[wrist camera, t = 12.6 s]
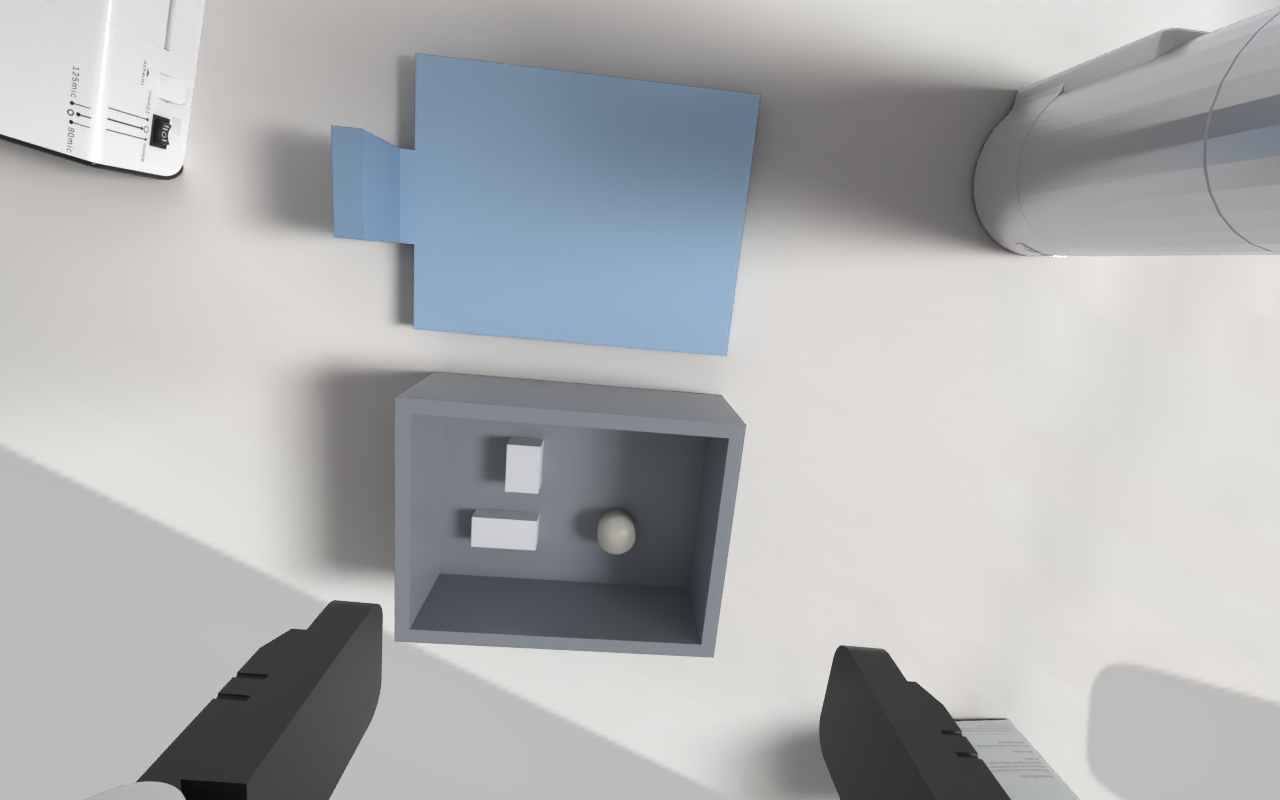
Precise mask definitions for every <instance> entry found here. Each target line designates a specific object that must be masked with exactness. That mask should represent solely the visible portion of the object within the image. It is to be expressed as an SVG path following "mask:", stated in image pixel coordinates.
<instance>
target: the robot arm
mask: <svg viewBox="0 0 1280 800" xmlns="http://www.w3.org/2000/svg"><path fill="white" fill-rule="evenodd" d="M974 200H975V205H976V211H977V213H978V215H979V218H980V220H981V223H982V225H983V226H984V228H985V229H986V231H987V232H988V233H989V235H990V236H991V237H992V238H993V239H994V240H995V241H996V242H998V243H999V244H1000V245H1001V246H1002V247H1004V248H1006V249H1008V250H1010V251H1012V252H1014V253H1018V254H1022V255H1027V256H1046V257H1068V256H1166V255H1278V254H1280V6H1279V7H1276V8H1274V9H1271V10H1268V11H1266V12H1263V13H1260V14H1258V15H1255V16H1253V17H1250V18H1247V19H1245V20H1242V21H1239V22H1237V23H1234V24H1231V25H1229V26H1226V27H1224V28H1221V29H1218V30H1216V31H1213V32H1204V31H1196V30H1189V29H1181V28H1170V29H1164V30H1161V31H1159V32H1156V33H1154V34H1151V35H1149V36H1147V37H1144V38H1142V39H1139V40H1137V41H1135V42H1132V43H1130V44H1127V45H1125V46H1123V47H1120V48H1118V49H1115V50H1113V51H1111V52H1108V53H1106V54H1103V55H1101V56H1099V57H1096V58H1094V59H1092V60H1089V61H1087V62H1084V63H1082V64H1080V65H1077V66H1075V67H1072V68H1070V69H1068V70H1065V71H1063V72H1060V73H1058V74H1056V75H1053V76H1051V77H1048V78H1046V79H1044V80H1041V81H1039V82H1036V83H1034V84H1032V85H1029V86H1027V87H1024V88H1022V89H1020V90H1019V91H1018V92H1017V94H1016V98H1015V103H1014V105H1013V108H1012V110H1011V111H1010V112H1009V114H1008V115H1007V116H1006V117H1005V118H1004V119H1003V120H1002V121H1001V122H1000V123H999V124H998V125H997V126H996V127H995V129H994V130H993V132H992V133H991V135H990V136H989V138H988V139H987V141H986V142H985V144H984V147H983V149H982V151H981V154H980V156H979V158H978V161H977V166H976V170H975V175H974ZM382 623H383V614H382V608H381V606H380V605H379V604H371V603H360V602H348V601H337V600H334V601H332V602H330V603H329V604H328V605H327V606H326V607H325V609H324V610H323V611H322V612H321V614H320V615H319V616H318V617H317V618H316V619H315V620H314V622H313V623H312V624H311V625H310V627H309V628H308V629H307V630H301V629H291V630H289V631H287V632H286V633H284V634H282V635H281V636H279V637H277V638H276V639H274V640H272V641H271V642H269V643H268V644H266V645H264V646H263V647H261V648H260V649H259V650H258V651H257V652H256V653H255V654H254V655H253V656H252V657H251V658H250V659H249V661H248V662H247V663H246V664H245V665H244V666H243V667H242V668H241V669H240V670H239V671H238V673H237V676H236V678H234V677H233V678H232V679H231V680H230V681H229V682H228V683H227V684H226V685H225V687H223V689H222V690H221V691H220V692H219V693H218V697H217V698H216V699H212V700H211V702H210V703H209V704H208V705H207V706H206V707H205V708H204V709H203V710H202V711H201V712H200V713H199V715H198V716H197V717H196V718H195V719H194V720H193V721H192V722H191V723H190V724H189V725H188V726H187V727H186V729H185V730H184V731H183V732H182V733H181V734H180V735H179V736H178V737H177V738H176V739H175V741H174V742H173V743H172V744H171V745H170V746H169V747H168V748H167V749H166V750H165V751H164V752H163V753H162V754H161V756H160V757H159V758H158V759H157V760H156V761H155V762H154V763H153V764H152V765H151V766H150V767H149V769H148V770H147V771H146V772H145V773H144V774H143V775H142V776H141V777H140V778H139V779H138V780H137V781H136V783H131V784H126V785H121V786H118V787H115V788H112V789H108V790H106V791H103V792H101V793H99V794H96V795H94V796H92V797H90V798H88V799H86V800H329V798H330V796H331V794H332V793H333V791H334V789H335V787H336V785H337V783H338V781H339V780H340V778H341V776H342V774H343V772H344V770H345V769H346V767H347V765H348V763H349V761H350V759H351V758H352V756H353V754H354V752H355V750H356V748H357V746H358V744H359V743H360V741H361V739H362V737H363V735H364V733H365V732H366V730H367V728H368V726H369V724H370V722H371V720H372V718H373V715H374V712H375V709H376V706H377V703H378V699H379V694H380V689H381V672H382V671H381V670H382ZM819 733H820V744H821V749H822V754H823V757H824V760H825V762H826V765H827V767H828V770H829V772H830V775H831V777H832V780H833V782H834V785H835V787H836V790H837V792H838V795H839V797H840V799H841V800H1011V799H1010V797H1009V796H1008V795H1007V793H1006V792H1005V790H1004V789H1003V788H1002V786H1001V785H1000V783H999V782H998V781H997V779H996V778H995V776H994V775H993V774H992V772H991V771H990V770H989V768H988V767H987V765H986V764H985V763H984V761H983V760H982V759H979V758H978V753H977V751H976V750H975V749H974V747H973V746H972V744H971V743H970V742H969V740H968V739H967V738H966V736H962V731H961V729H960V728H959V726H958V725H957V724H956V722H955V721H954V719H953V718H952V717H951V715H950V714H949V712H948V711H947V710H946V708H945V707H944V706H943V705H942V704H941V703H940V702H939V701H938V700H937V699H935V698H934V697H933V696H932V695H931V694H929V693H928V692H927V691H926V690H925V689H923V688H922V687H921V686H920V685H919V684H917V683H916V682H908V681H907V680H906V679H905V677H904V676H903V674H902V673H901V671H900V670H899V668H898V667H897V665H896V664H895V663H894V661H893V660H892V658H891V657H890V655H889V654H888V653H887V652H886V651H885V650H884V649H878V648H866V647H854V646H842V645H841V646H839V647H838V648H837V650H836V652H835V655H834V658H833V663H832V667H831V672H830V676H829V681H828V685H827V690H826V694H825V698H824V703H823V707H822V712H821V717H820V726H819Z"/></svg>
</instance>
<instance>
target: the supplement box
mask: <svg viewBox="0 0 1280 800" xmlns="http://www.w3.org/2000/svg"><path fill="white" fill-rule="evenodd" d="M955 722H956V724H957V725H958V726H959V728H960V729H961V731H962V736H966V738H967V739H968V740H969V742H970V743H971V744H972V746H973V747H974V749H975V750H976V751H977V753H978V758H979V759H982V760H983V761H984V763H985V764H986V765H987V767H988V768H989V770H990V771H991V772H992V774H993V775H994V776H995V778H996V779H997V781H998V782H999V783H1000V785H1001V786H1002V788H1003V789H1004V790H1005V792H1006V793H1007V795H1008V796H1009V797H1010V799H1011V800H1080V799H1079V798H1078V797H1077V796H1076V794H1075V793H1074V792H1073V791H1072V790H1071V789H1070V788H1069V786H1068V785H1067V784H1066V783H1065V782H1064V781H1063V780H1062V778H1061V777H1060V776H1059V775H1058V774H1057V773H1056V772H1055V771H1054V770H1053V768H1052V767H1051V766H1050V765H1049V764H1048V763H1047V762H1046V760H1045V759H1044V758H1043V757H1042V756H1041V755H1040V754H1039V752H1038V751H1037V750H1036V749H1035V748H1034V747H1033V746H1032V745H1031V744H1030V742H1029V741H1028V740H1027V739H1026V738H1025V737H1024V736H1023V735H1022V733H1021V732H1020V731H1019V730H1018V729H1017V728H1016V727H1015V726H1014V724H1013V723H1012V722H1011V721H1010V720H983V721H955Z"/></svg>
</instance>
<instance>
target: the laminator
mask: <svg viewBox="0 0 1280 800" xmlns="http://www.w3.org/2000/svg"><path fill="white" fill-rule="evenodd" d="M205 1H206V0H0V139H2V140H5V141H8V142H11V143H15V144H18V145H21V146H24V147H28V148H31V149H34V150H38V151H41V152H44V153H47V154H51V155H54V156H57V157H61V158H64V159H67V160H70V161H74V162H77V163H80V164H83V165H87V166H90V167H94V168H99V169H104V170H110V171H115V172H121V173H127V174H132V175H138V176H143V177H149V178H154V179H161V180H169V179H174V178H176V177H178V176H179V175H180V174H181V173H182V170H183V163H184V157H185V149H186V142H187V135H188V127H189V120H190V112H191V105H192V98H193V90H194V83H195V75H196V68H197V61H198V53H199V46H200V38H201V31H202V24H203V16H204V9H205Z"/></svg>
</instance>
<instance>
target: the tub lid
mask: <svg viewBox="0 0 1280 800" xmlns="http://www.w3.org/2000/svg"><path fill="white" fill-rule="evenodd" d="M760 96H761V95H760V94H751V93H743V92H735V91H726V90H718V89H710V88H701V87H693V86H685V85H676V84H668V83H660V82H651V81H643V80H635V79H626V78H618V77H610V76H601V75H593V74H585V73H576V72H568V71H560V70H551V69H543V68H535V67H526V66H518V65H510V64H501V63H493V62H484V61H476V60H468V59H459V58H451V57H443V56H434V55H426V54H418V53H416V55H415V150H409V149H400V148H398V147H396V146H394V145H392V144H390V143H388V142H387V141H385V140H383V139H381V138H379V137H377V136H375V135H373V134H371V133H369V132H368V131H366V130H364V129H360V128H350V127H341V126H332V125H331V135H332V179H333V222H334V237H336V238H347V239H357V240H368V241H381V242H395V243H406V244H414V329H421V330H433V331H444V332H456V333H467V334H478V335H490V336H501V337H513V338H524V339H536V340H547V341H559V342H570V343H582V344H593V345H604V346H616V347H627V348H639V349H650V350H662V351H673V352H685V353H696V354H708V355H719V356H727V349H728V342H729V334H730V326H731V318H732V311H733V303H734V295H735V288H736V280H737V272H738V265H739V257H740V249H741V242H742V234H743V226H744V219H745V211H746V203H747V196H748V188H749V180H750V172H751V165H752V157H753V149H754V142H755V134H756V126H757V119H758V111H759V103H760Z"/></svg>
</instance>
